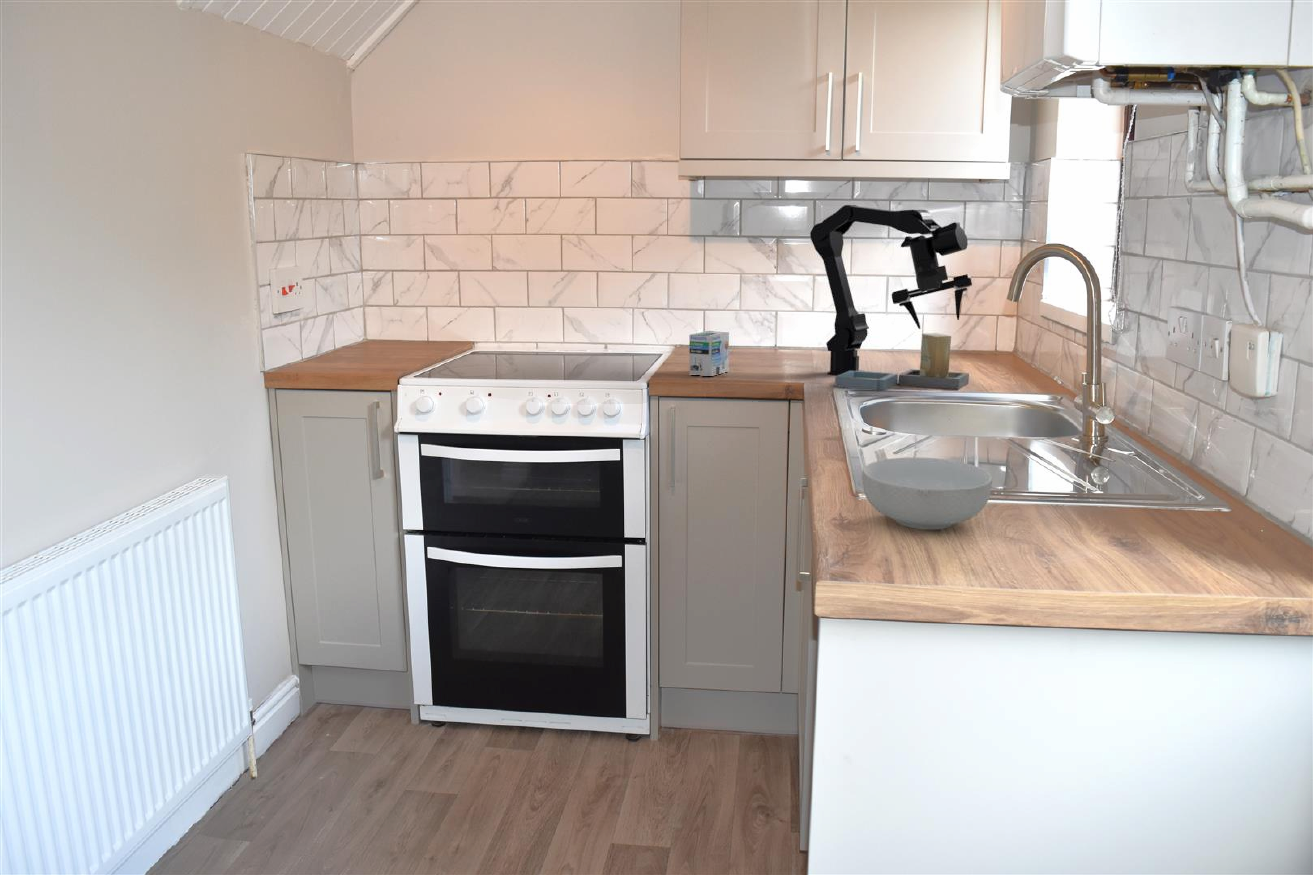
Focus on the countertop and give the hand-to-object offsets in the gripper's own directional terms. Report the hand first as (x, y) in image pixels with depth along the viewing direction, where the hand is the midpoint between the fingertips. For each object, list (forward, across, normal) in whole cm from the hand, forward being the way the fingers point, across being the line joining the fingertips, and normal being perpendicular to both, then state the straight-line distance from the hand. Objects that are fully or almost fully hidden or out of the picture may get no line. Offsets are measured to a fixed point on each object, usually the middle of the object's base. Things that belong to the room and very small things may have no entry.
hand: (938, 324), depth 251 cm
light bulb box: (0, -59, +3) cm, 59 cm away
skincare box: (+14, -4, +1) cm, 15 cm away
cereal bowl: (+28, -5, -117) cm, 120 cm away
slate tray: (+11, -19, -5) cm, 23 cm away
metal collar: (+14, -4, +1) cm, 15 cm away
